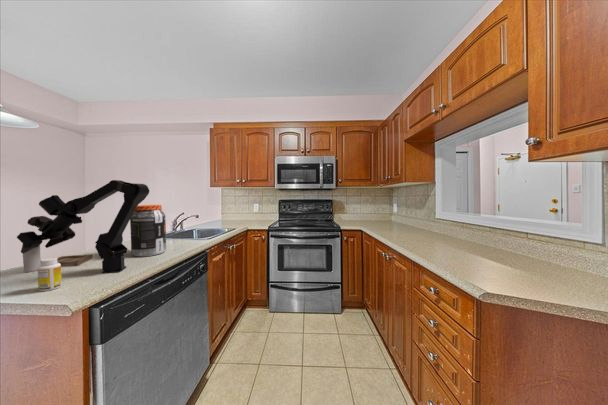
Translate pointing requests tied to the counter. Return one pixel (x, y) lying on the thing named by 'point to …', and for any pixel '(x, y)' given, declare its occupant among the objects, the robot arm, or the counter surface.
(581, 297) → the counter surface
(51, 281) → the supplement bottle
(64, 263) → the walnut tray
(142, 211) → the supplement tub
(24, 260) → the beverage can
